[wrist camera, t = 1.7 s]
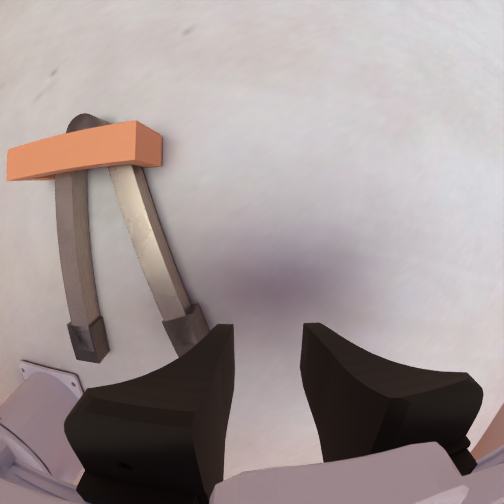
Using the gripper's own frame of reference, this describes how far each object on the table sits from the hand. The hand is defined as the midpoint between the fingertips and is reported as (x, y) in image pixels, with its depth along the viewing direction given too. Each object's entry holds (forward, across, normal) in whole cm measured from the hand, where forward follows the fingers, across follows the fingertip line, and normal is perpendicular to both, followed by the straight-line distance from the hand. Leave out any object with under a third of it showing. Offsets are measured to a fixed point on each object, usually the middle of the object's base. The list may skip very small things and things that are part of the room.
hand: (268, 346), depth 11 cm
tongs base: (+8, +12, -3) cm, 15 cm away
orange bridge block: (+8, +11, -9) cm, 16 cm away
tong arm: (+8, +6, -2) cm, 11 cm away
